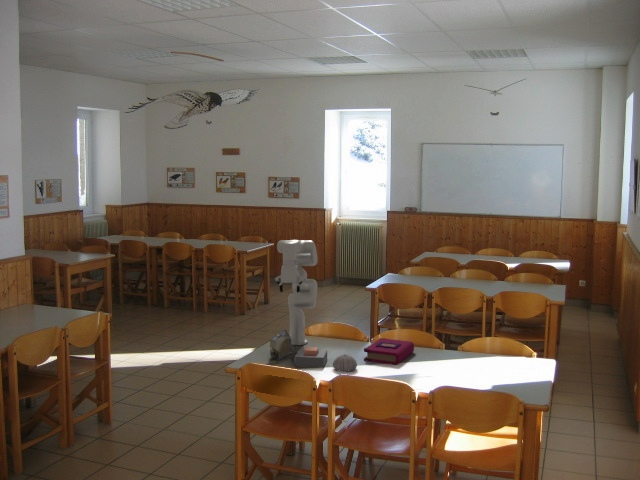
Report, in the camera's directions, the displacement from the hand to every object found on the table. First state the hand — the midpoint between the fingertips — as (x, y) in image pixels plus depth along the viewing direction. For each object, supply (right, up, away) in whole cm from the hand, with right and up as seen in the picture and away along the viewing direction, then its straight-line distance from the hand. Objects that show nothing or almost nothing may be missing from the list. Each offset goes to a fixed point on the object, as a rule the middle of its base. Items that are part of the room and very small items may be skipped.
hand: (289, 292), depth 390 cm
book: (+58, -38, -4) cm, 69 cm away
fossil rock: (-6, -38, -1) cm, 38 cm away
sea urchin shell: (+31, -40, -27) cm, 58 cm away
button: (+13, -34, -15) cm, 39 cm away
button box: (+13, -39, -15) cm, 43 cm away
